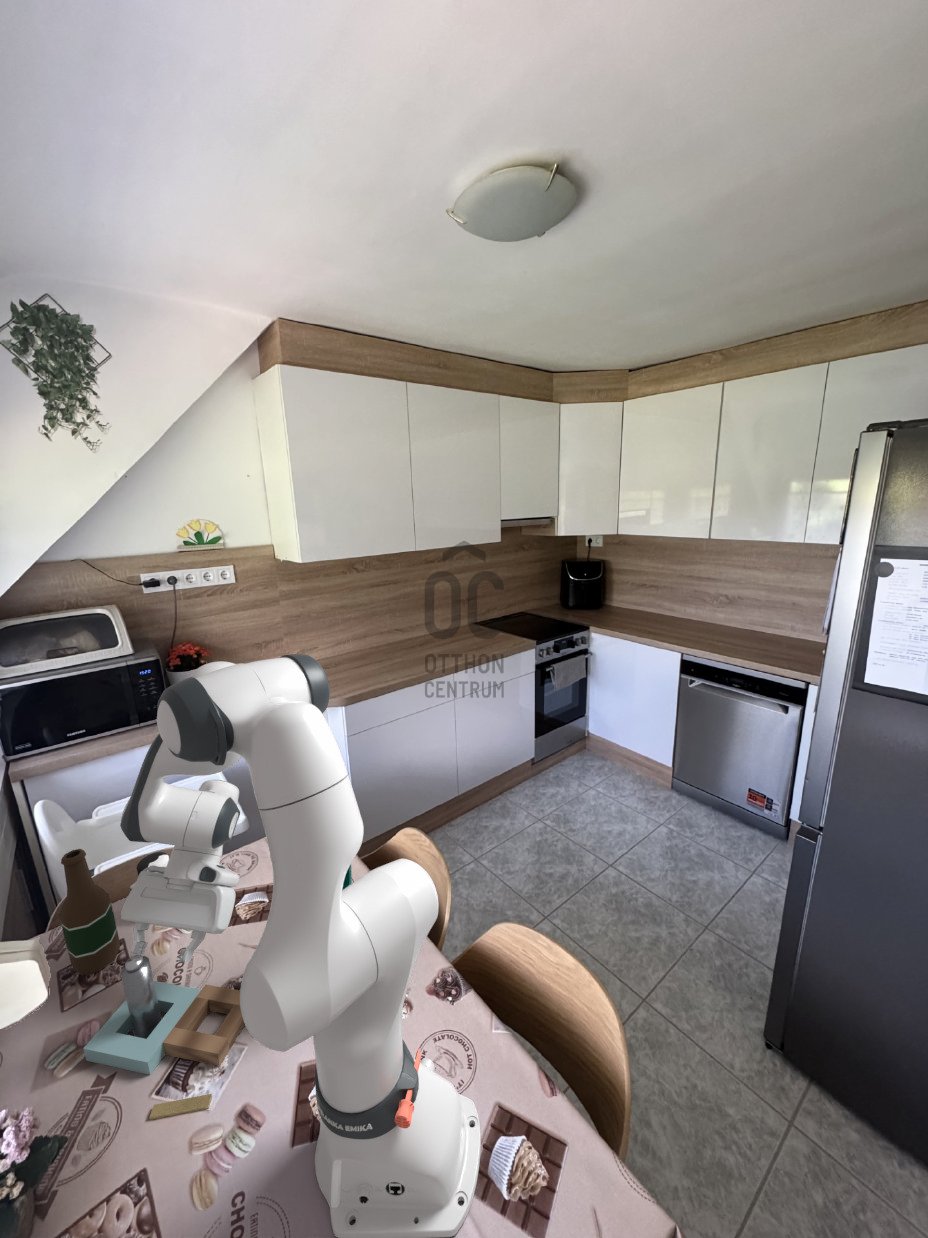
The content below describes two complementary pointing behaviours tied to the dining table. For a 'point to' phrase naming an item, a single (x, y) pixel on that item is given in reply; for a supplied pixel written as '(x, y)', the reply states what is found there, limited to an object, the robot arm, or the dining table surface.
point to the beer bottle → (87, 918)
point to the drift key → (180, 1106)
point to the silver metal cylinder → (140, 995)
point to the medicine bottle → (152, 862)
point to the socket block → (202, 1045)
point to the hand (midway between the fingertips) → (160, 957)
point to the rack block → (135, 1051)
